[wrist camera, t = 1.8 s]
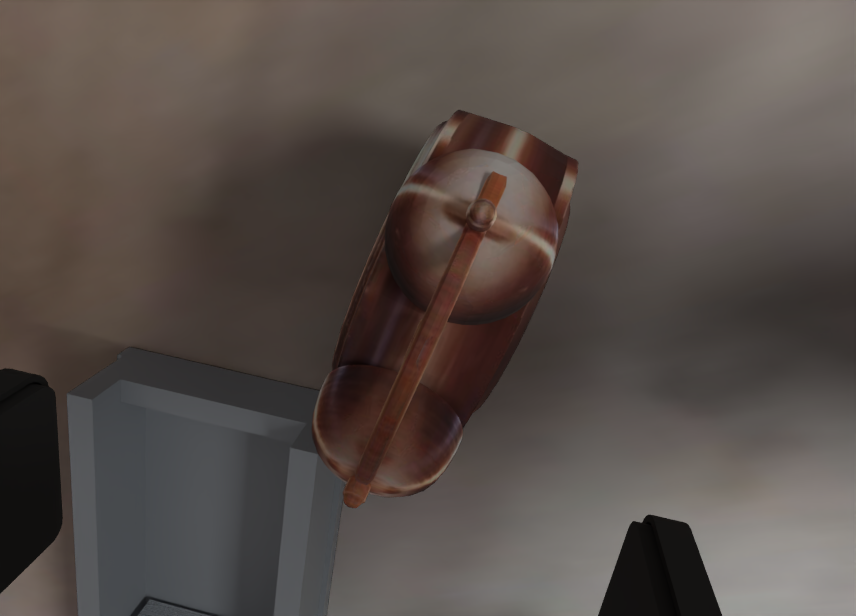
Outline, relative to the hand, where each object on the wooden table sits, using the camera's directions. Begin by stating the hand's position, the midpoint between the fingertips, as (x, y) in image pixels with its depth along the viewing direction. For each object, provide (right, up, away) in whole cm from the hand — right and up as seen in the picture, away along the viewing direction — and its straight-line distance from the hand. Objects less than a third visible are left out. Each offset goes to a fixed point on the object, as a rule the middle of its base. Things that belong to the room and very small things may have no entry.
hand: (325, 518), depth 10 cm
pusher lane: (-10, -14, +27) cm, 32 cm away
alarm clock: (+4, +6, +18) cm, 19 cm away
